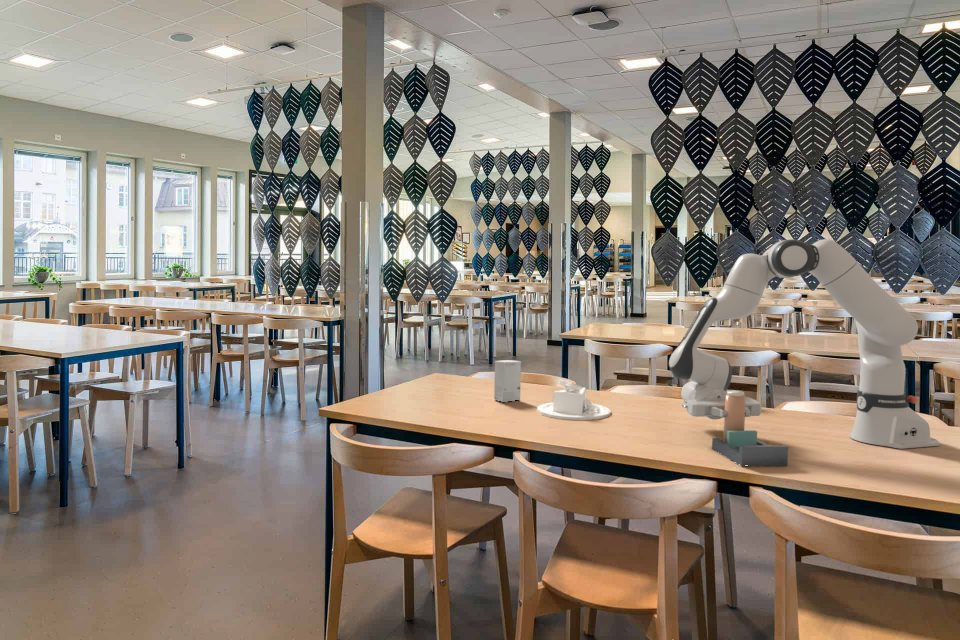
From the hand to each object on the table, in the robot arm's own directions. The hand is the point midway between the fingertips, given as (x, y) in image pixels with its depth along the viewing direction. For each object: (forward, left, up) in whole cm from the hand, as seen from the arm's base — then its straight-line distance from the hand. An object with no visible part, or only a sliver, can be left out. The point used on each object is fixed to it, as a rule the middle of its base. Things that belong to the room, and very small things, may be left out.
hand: (736, 414), depth 179 cm
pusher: (0, +5, -10) cm, 11 cm away
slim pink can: (0, -1, -8) cm, 8 cm away
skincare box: (+53, -69, -10) cm, 88 cm away
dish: (+33, -49, -10) cm, 60 cm away
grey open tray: (0, +7, -10) cm, 12 cm away
